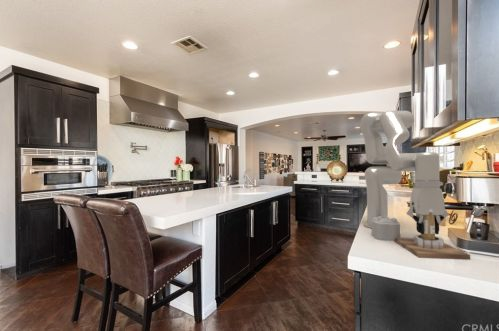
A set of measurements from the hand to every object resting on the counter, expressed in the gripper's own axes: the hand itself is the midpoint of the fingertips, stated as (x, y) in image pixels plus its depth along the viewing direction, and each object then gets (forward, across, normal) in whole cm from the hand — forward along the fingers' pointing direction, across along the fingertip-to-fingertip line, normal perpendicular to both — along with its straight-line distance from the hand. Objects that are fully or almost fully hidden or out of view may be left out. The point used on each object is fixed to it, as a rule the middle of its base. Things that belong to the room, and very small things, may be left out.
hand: (427, 232), depth 91 cm
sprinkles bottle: (+4, 0, 0) cm, 4 cm away
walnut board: (+6, 0, 0) cm, 6 cm away
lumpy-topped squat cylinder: (+7, +9, -16) cm, 20 cm away
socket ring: (+5, 0, 0) cm, 5 cm away
